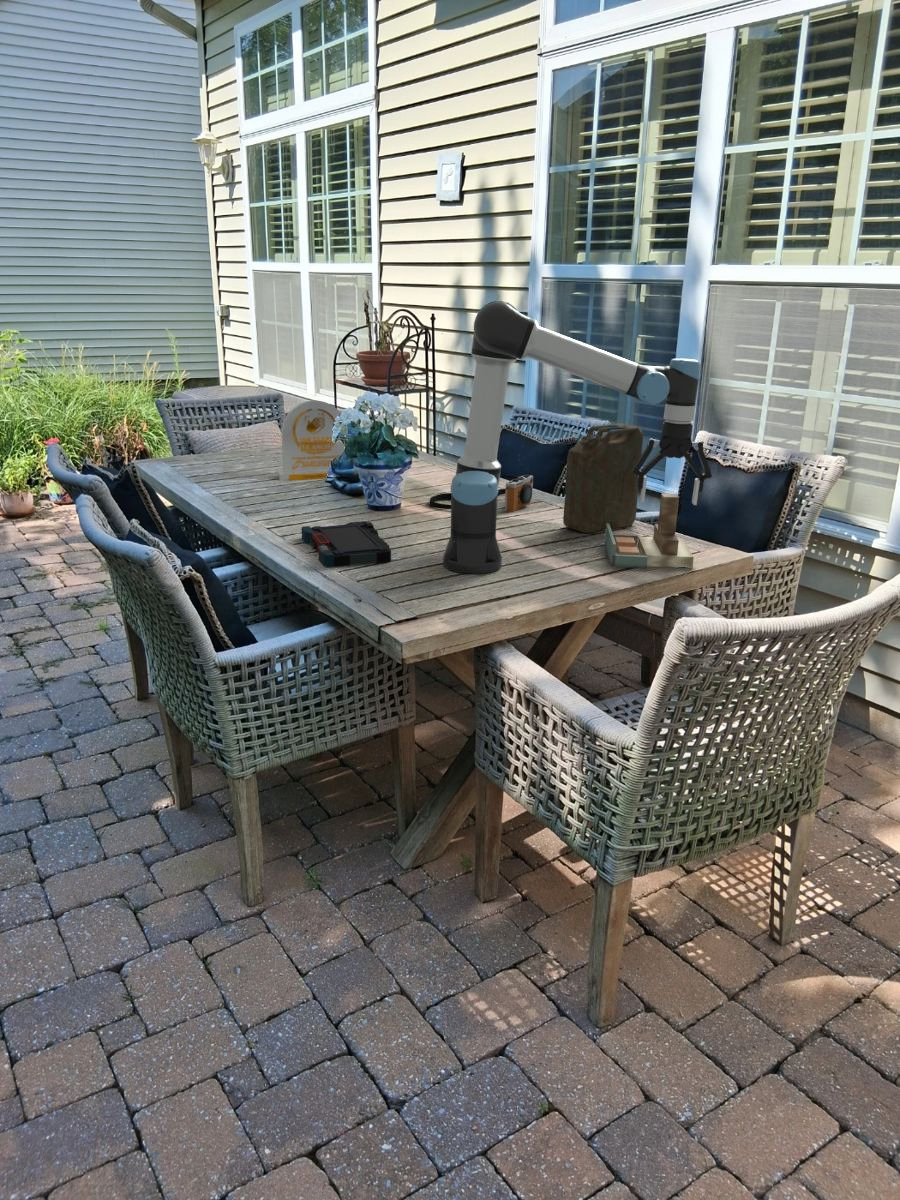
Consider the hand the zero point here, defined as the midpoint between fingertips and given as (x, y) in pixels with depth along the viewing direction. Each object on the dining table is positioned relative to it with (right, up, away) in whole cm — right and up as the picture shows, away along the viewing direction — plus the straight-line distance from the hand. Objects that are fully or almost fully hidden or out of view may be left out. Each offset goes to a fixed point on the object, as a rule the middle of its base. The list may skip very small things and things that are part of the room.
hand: (668, 502), depth 235 cm
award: (-107, +20, +94) cm, 144 cm away
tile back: (-10, -12, +10) cm, 18 cm away
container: (-12, -4, +34) cm, 36 cm away
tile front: (-10, -15, +1) cm, 18 cm away
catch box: (-10, -14, +6) cm, 18 cm away
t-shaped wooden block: (0, -11, +4) cm, 12 cm away
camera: (-46, +6, +60) cm, 76 cm away
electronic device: (-86, -12, +8) cm, 87 cm away
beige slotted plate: (0, -14, +5) cm, 15 cm away
